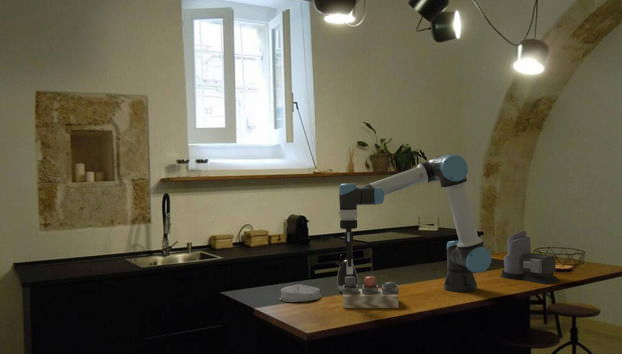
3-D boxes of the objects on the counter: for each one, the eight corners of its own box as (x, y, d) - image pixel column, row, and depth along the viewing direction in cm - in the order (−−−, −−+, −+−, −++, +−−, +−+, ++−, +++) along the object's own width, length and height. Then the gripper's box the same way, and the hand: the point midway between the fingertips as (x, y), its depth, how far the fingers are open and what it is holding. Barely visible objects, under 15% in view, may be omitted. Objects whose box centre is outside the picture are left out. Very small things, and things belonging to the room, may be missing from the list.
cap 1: (355, 285, 238) (355, 276, 238) (355, 287, 233) (355, 278, 233) (345, 285, 238) (345, 276, 238) (344, 287, 234) (344, 278, 234)
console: (397, 300, 241) (397, 283, 241) (399, 307, 227) (398, 289, 227) (343, 300, 243) (343, 283, 243) (342, 307, 229) (341, 290, 229)
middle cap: (375, 285, 237) (375, 276, 237) (375, 287, 233) (375, 278, 233) (365, 285, 237) (364, 276, 237) (364, 287, 233) (364, 278, 233)
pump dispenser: (335, 289, 266) (334, 258, 266) (356, 288, 267) (355, 257, 267) (338, 294, 256) (337, 261, 256) (360, 293, 257) (359, 260, 257)
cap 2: (395, 291, 236) (394, 281, 236) (395, 293, 232) (395, 283, 232) (384, 291, 236) (384, 281, 236) (385, 293, 232) (384, 283, 232)
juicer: (493, 276, 290) (491, 230, 290) (512, 272, 298) (511, 228, 298) (543, 285, 264) (542, 234, 264) (563, 281, 273) (562, 232, 273)
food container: (280, 294, 261) (280, 280, 261) (322, 293, 260) (321, 278, 260) (276, 305, 241) (276, 289, 241) (322, 303, 240) (321, 287, 240)
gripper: (340, 218, 243) (342, 271, 243) (338, 220, 230) (340, 276, 230) (357, 218, 242) (358, 271, 242) (356, 220, 229) (358, 276, 229)
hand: (349, 273), depth 236 cm, fingers closed
